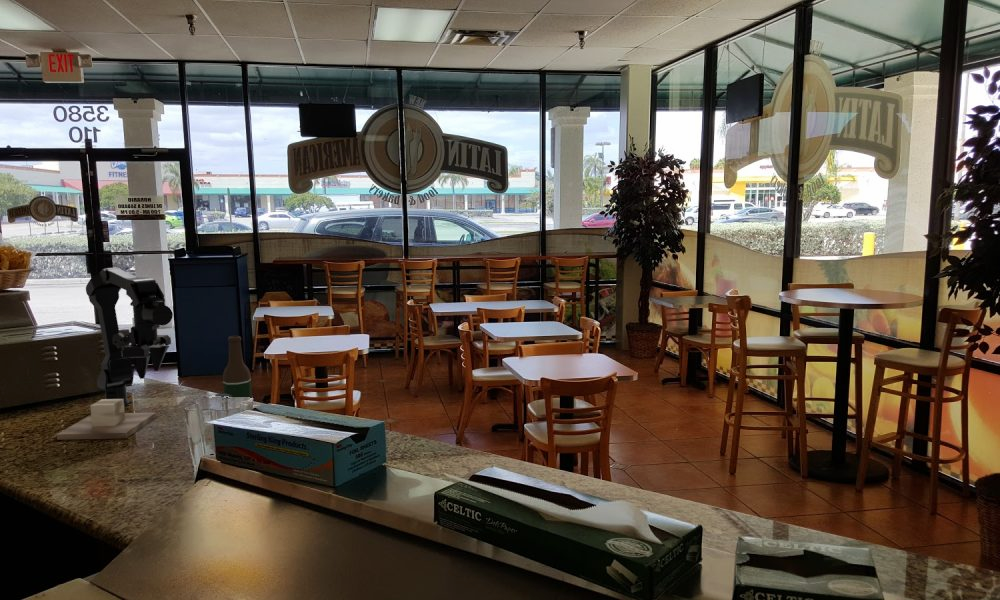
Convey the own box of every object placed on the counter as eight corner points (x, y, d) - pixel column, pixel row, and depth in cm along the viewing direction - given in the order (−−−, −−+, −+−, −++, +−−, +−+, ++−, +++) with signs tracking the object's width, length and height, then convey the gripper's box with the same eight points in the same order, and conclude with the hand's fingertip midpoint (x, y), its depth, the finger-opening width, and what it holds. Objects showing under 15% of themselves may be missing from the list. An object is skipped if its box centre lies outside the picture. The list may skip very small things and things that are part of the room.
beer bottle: (219, 418, 200) (214, 338, 196) (238, 410, 207) (233, 333, 203) (239, 421, 197) (235, 339, 193) (258, 413, 204) (254, 335, 201)
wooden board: (93, 418, 199) (92, 413, 199) (156, 417, 200) (155, 412, 200) (57, 439, 182) (56, 434, 181) (126, 438, 183) (126, 432, 182)
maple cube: (103, 419, 194) (101, 399, 193) (125, 419, 194) (123, 398, 193) (92, 426, 188) (90, 405, 187) (114, 426, 188) (112, 405, 187)
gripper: (132, 317, 205) (136, 367, 207) (99, 328, 187) (104, 383, 189) (169, 316, 206) (173, 366, 208) (141, 327, 187) (145, 382, 190)
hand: (149, 374), depth 199 cm, fingers open, 9 cm apart
